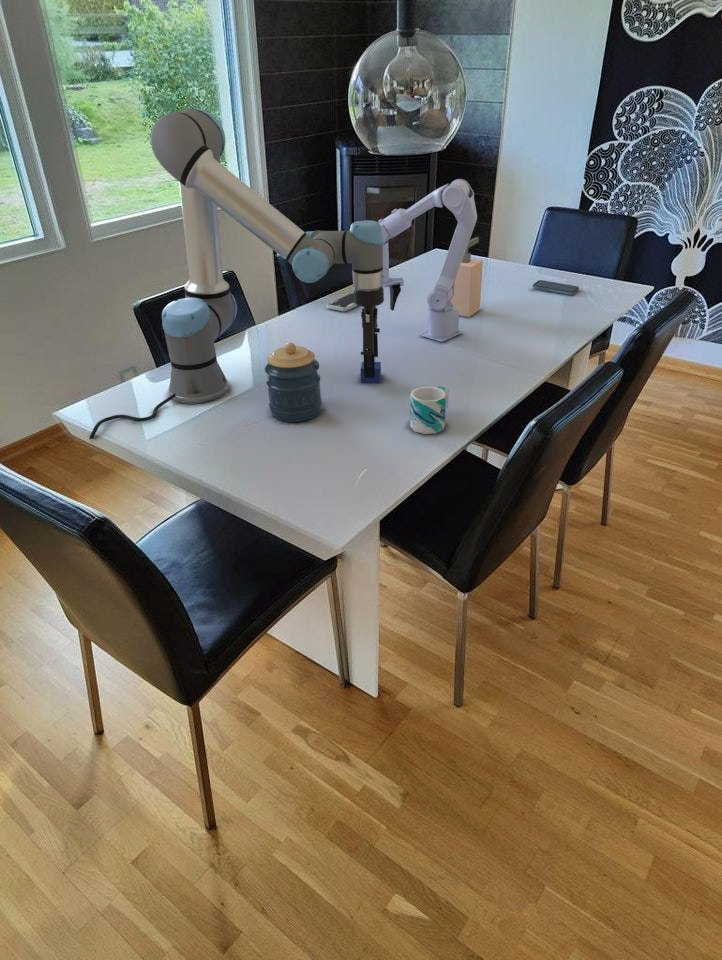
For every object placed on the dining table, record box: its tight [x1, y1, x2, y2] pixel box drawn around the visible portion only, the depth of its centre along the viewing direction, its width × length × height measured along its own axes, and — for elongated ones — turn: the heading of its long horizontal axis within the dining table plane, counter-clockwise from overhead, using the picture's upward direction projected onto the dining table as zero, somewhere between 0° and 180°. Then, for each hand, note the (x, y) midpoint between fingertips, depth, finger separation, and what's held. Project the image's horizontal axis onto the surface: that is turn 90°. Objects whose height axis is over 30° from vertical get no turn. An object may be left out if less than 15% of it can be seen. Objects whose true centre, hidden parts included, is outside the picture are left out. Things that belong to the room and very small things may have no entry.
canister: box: [264, 342, 323, 423], centre depth 161 cm, size 13×13×18 cm
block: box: [360, 361, 382, 384], centre depth 180 cm, size 4×5×4 cm
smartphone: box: [326, 292, 358, 312], centre depth 233 cm, size 8×1×15 cm
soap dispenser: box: [451, 236, 484, 318], centre depth 219 cm, size 13×9×22 cm
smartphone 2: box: [531, 279, 580, 296], centre depth 239 cm, size 8×2×15 cm
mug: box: [409, 385, 450, 435], centre depth 156 cm, size 8×12×8 cm
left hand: (371, 366), depth 179 cm, fingers open, 13 cm apart
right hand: (380, 310), depth 207 cm, fingers open, 7 cm apart
